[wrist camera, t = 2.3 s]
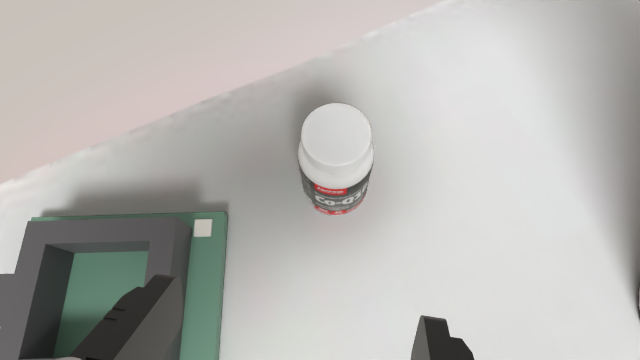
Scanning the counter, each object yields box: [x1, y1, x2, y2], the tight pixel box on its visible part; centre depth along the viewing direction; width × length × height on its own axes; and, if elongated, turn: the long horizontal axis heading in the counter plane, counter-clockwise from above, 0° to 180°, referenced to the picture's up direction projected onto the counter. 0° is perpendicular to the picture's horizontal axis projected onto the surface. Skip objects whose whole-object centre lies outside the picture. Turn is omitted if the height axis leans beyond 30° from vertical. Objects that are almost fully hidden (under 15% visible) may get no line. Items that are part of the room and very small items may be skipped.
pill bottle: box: [298, 103, 374, 216], centre depth 26 cm, size 5×5×8 cm
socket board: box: [0, 211, 228, 360], centre depth 25 cm, size 14×12×4 cm
